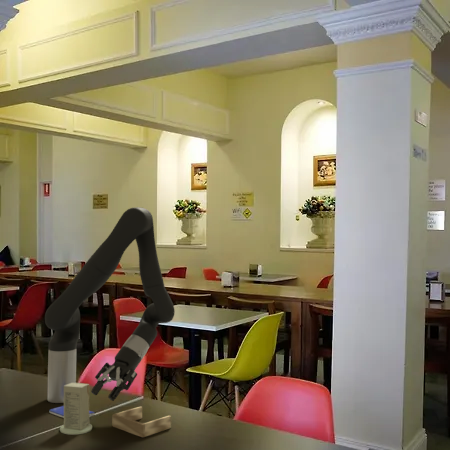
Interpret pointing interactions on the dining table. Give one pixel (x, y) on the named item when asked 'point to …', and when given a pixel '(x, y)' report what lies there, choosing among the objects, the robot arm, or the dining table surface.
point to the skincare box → (76, 406)
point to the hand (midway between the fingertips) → (101, 396)
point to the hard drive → (60, 412)
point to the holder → (129, 424)
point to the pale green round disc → (75, 430)
